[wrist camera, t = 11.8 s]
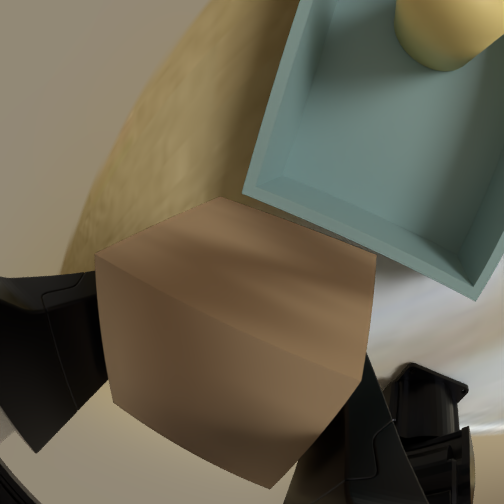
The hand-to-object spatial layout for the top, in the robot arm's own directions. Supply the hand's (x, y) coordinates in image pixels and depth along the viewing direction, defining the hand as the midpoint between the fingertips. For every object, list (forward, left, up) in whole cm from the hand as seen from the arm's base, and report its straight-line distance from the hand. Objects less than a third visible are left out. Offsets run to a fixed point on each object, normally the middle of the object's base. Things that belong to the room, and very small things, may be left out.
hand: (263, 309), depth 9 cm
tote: (-3, -9, -12) cm, 15 cm away
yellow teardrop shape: (-3, -13, -11) cm, 18 cm away
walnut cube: (0, 0, -1) cm, 1 cm away
